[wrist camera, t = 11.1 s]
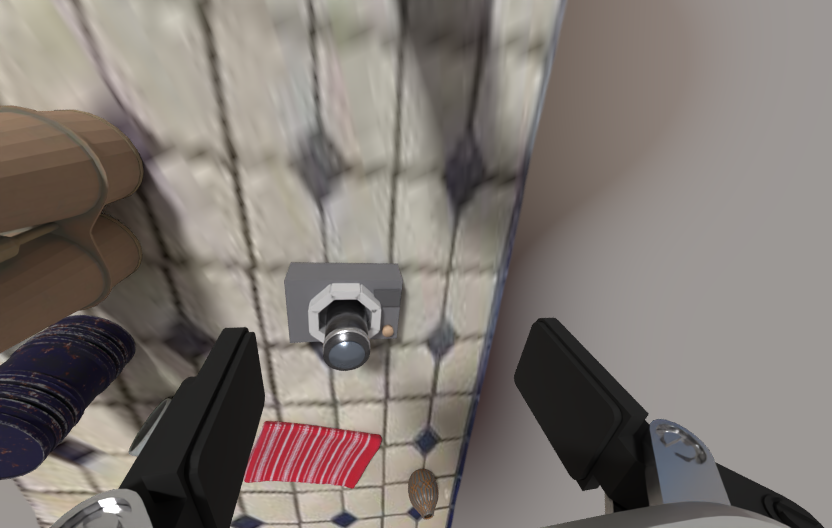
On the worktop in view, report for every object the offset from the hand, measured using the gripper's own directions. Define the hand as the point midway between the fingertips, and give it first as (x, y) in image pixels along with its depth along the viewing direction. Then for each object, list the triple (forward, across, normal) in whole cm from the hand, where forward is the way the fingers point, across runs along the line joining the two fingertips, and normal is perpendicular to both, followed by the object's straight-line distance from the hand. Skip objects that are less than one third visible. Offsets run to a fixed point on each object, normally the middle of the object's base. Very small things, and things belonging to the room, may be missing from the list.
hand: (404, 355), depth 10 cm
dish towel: (+33, +8, +57) cm, 66 cm away
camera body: (+32, +2, +18) cm, 37 cm away
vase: (+32, -16, +70) cm, 79 cm away
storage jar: (+32, +36, +26) cm, 55 cm away
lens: (+27, +2, +18) cm, 33 cm away
